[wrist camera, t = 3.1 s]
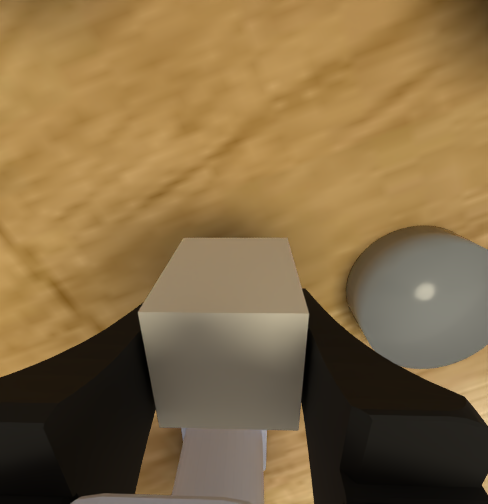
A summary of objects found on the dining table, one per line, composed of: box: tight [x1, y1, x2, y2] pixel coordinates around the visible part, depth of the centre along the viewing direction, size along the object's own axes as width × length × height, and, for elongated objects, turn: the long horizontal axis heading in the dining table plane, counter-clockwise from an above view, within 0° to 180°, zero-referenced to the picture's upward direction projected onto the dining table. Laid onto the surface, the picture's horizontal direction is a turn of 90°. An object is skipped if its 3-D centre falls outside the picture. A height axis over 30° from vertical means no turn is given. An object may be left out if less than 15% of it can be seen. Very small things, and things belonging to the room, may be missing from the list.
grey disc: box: [346, 226, 488, 369], centre depth 20 cm, size 9×9×4 cm
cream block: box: [138, 238, 309, 430], centre depth 11 cm, size 4×4×6 cm
